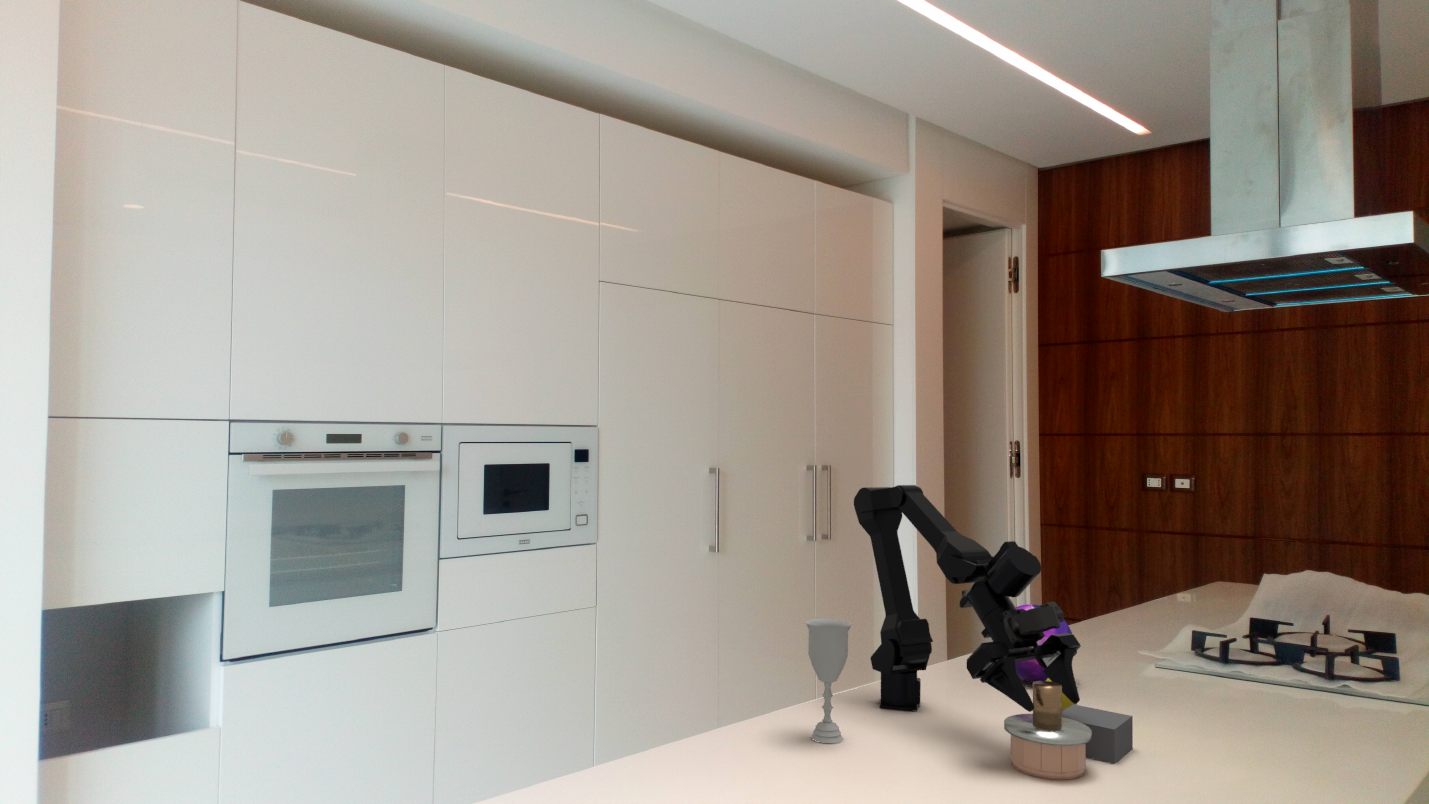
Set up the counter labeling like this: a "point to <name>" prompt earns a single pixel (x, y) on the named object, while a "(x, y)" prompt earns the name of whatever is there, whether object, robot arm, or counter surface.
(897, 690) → the robot arm
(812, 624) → the chalice
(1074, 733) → the lid
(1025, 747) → the bowl
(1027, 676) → the decorative orb
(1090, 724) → the block
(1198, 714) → the counter surface
